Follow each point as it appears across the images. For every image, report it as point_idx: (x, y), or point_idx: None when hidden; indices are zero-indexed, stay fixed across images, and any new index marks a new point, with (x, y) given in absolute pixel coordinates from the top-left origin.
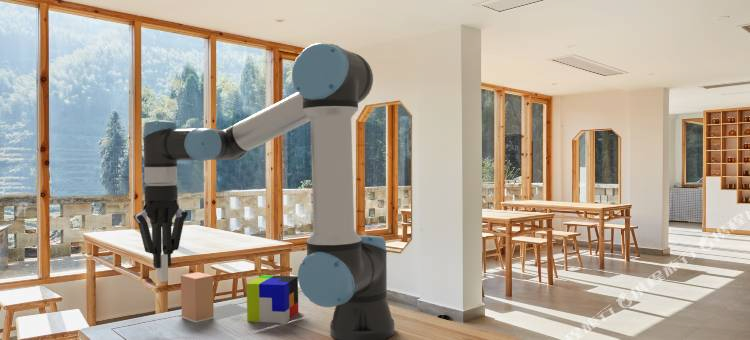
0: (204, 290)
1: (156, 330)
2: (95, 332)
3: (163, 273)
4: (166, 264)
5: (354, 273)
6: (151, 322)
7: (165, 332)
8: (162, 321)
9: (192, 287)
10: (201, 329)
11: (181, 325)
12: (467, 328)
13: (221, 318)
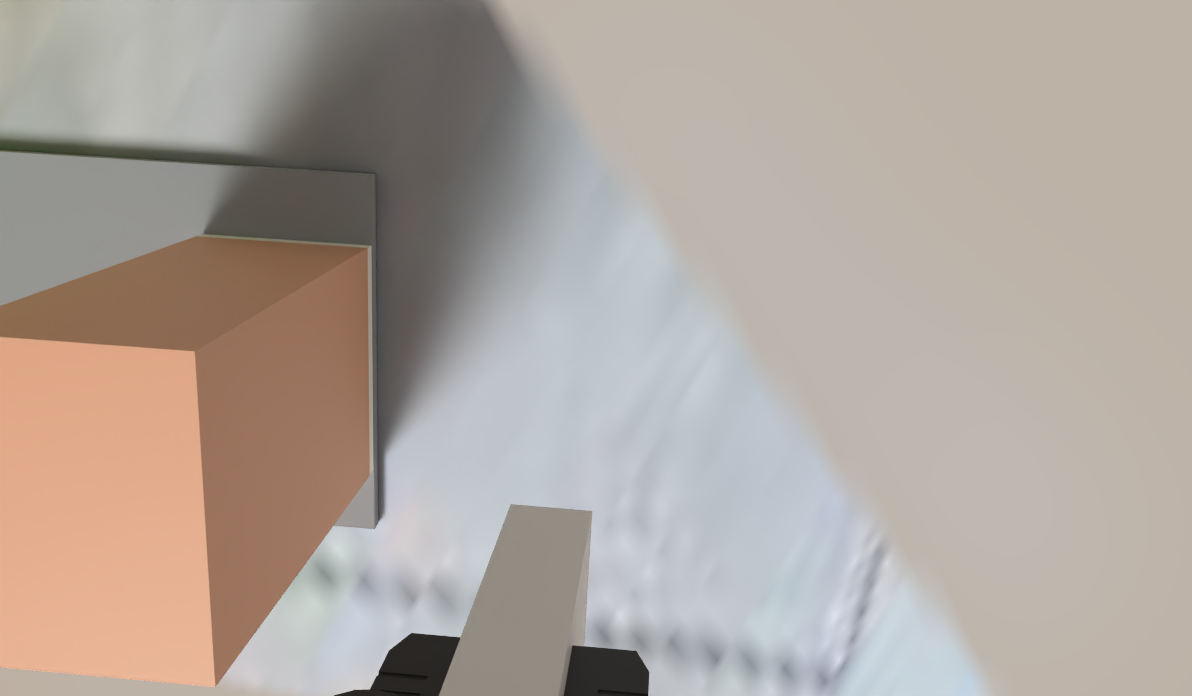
0: (151, 299)
1: (664, 368)
2: (963, 690)
3: (560, 562)
4: (489, 625)
5: None
6: None
7: (649, 262)
8: None
9: (251, 378)
10: (416, 82)
11: (466, 322)
12: None
13: (157, 173)
